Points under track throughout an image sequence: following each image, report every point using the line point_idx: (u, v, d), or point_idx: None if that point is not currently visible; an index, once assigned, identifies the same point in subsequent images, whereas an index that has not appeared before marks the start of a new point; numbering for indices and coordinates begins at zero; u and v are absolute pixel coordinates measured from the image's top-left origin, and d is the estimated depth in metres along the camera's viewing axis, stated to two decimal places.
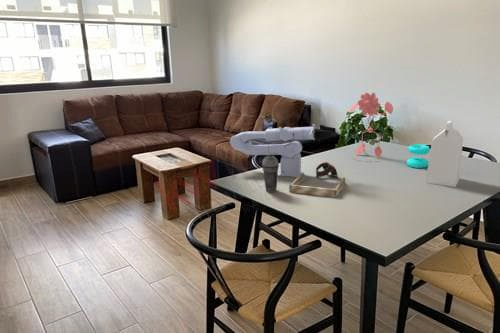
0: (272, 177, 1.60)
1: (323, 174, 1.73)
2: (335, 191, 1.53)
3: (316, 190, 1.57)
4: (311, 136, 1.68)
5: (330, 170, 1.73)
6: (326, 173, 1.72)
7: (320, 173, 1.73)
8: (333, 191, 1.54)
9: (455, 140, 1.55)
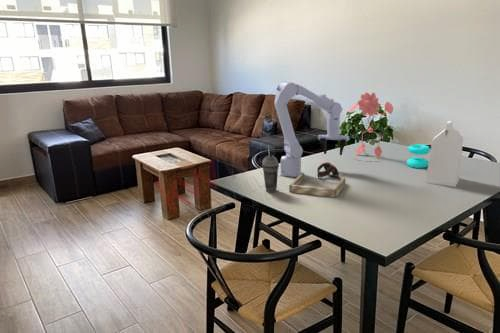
0: (273, 177, 1.60)
1: (324, 174, 1.73)
2: (335, 191, 1.53)
3: (316, 190, 1.57)
4: (348, 138, 1.81)
5: (331, 170, 1.72)
6: (327, 173, 1.72)
7: (321, 173, 1.73)
8: (333, 191, 1.54)
9: (455, 140, 1.55)
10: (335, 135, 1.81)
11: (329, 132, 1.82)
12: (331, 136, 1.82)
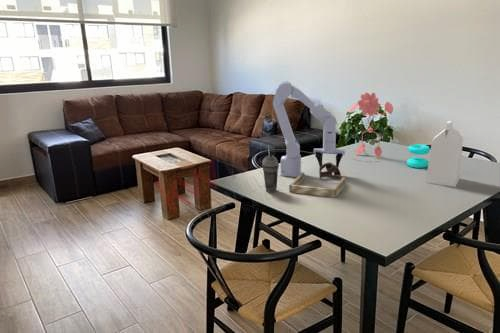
0: (272, 177, 1.60)
1: (326, 174, 1.72)
2: (335, 191, 1.53)
3: (316, 190, 1.57)
4: (344, 153, 1.76)
5: (333, 170, 1.72)
6: (329, 173, 1.71)
7: (323, 173, 1.72)
8: (333, 191, 1.54)
9: (455, 140, 1.55)
10: (331, 149, 1.76)
11: (325, 146, 1.77)
12: (327, 150, 1.76)
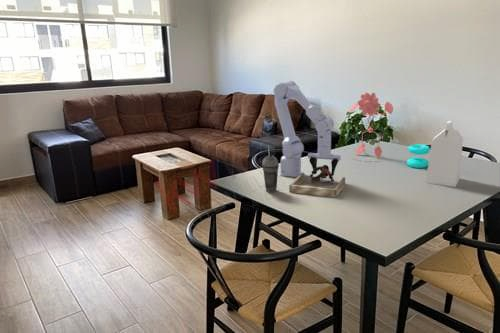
0: (272, 177, 1.60)
1: (315, 180, 1.67)
2: (335, 191, 1.53)
3: (316, 190, 1.57)
4: (340, 158, 1.68)
5: (322, 176, 1.66)
6: (318, 179, 1.66)
7: (312, 178, 1.68)
8: (333, 191, 1.54)
9: (455, 140, 1.55)
10: (326, 154, 1.68)
11: (319, 151, 1.68)
12: (322, 155, 1.68)
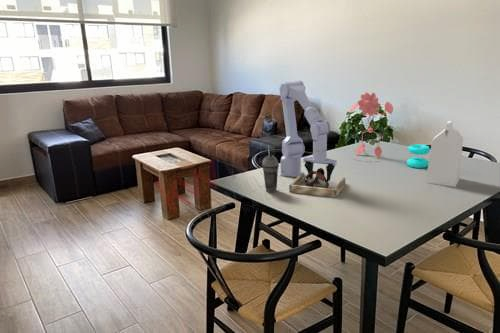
0: (273, 177, 1.60)
1: (309, 186, 1.62)
2: (335, 191, 1.53)
3: (316, 190, 1.57)
4: (336, 163, 1.61)
5: (316, 183, 1.60)
6: (311, 186, 1.61)
7: (306, 184, 1.63)
8: (333, 191, 1.54)
9: (455, 140, 1.55)
10: (321, 159, 1.61)
11: (314, 155, 1.62)
12: (316, 160, 1.62)
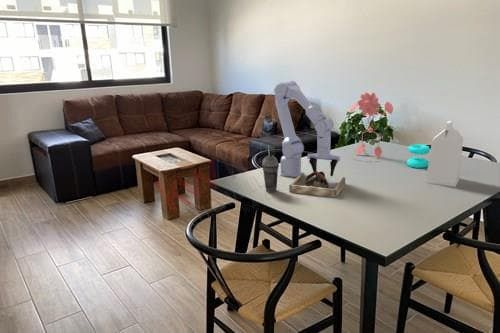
0: (272, 177, 1.60)
1: (309, 184, 1.61)
2: (335, 191, 1.53)
3: (316, 190, 1.57)
4: (339, 159, 1.67)
5: (316, 180, 1.60)
6: (311, 183, 1.60)
7: (306, 182, 1.62)
8: (333, 191, 1.54)
9: (455, 140, 1.55)
10: (325, 155, 1.67)
11: (319, 151, 1.68)
12: (321, 156, 1.68)
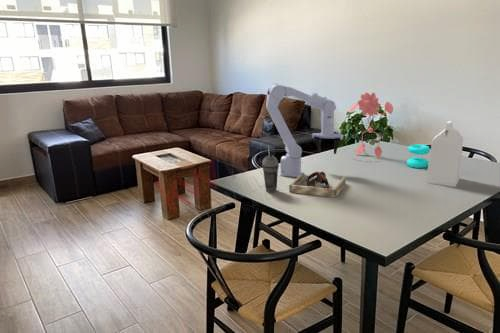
0: (273, 177, 1.60)
1: (310, 184, 1.61)
2: (335, 191, 1.53)
3: (316, 190, 1.57)
4: (342, 137, 1.78)
5: (317, 181, 1.60)
6: (312, 183, 1.60)
7: (307, 183, 1.62)
8: (333, 191, 1.54)
9: (455, 140, 1.55)
10: (329, 133, 1.78)
11: (323, 130, 1.79)
12: (325, 134, 1.78)
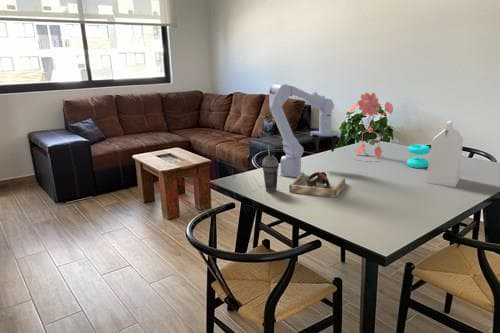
0: (272, 177, 1.60)
1: (311, 184, 1.60)
2: (335, 191, 1.53)
3: (316, 190, 1.57)
4: None
5: (318, 181, 1.59)
6: (314, 184, 1.60)
7: (308, 183, 1.62)
8: (333, 191, 1.54)
9: (455, 140, 1.55)
10: (327, 131, 1.82)
11: (321, 128, 1.83)
12: (323, 132, 1.83)
